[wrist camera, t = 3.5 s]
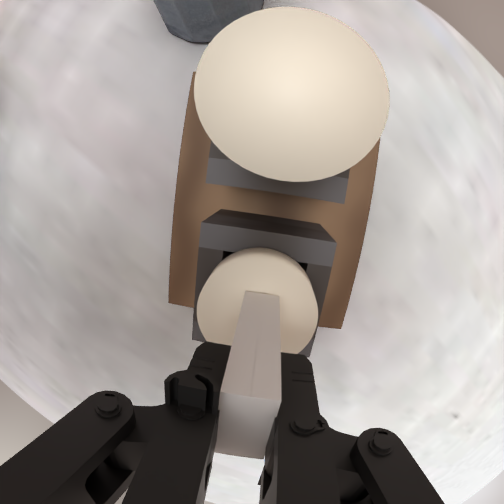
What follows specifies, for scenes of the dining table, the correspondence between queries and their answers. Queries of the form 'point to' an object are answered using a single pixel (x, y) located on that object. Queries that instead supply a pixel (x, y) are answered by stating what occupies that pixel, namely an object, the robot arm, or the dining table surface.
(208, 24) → the moka pot
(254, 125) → the plunger near
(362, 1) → the dining table surface
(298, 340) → the plunger far
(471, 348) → the dining table surface
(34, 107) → the dining table surface
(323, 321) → the mount
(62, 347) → the dining table surface
